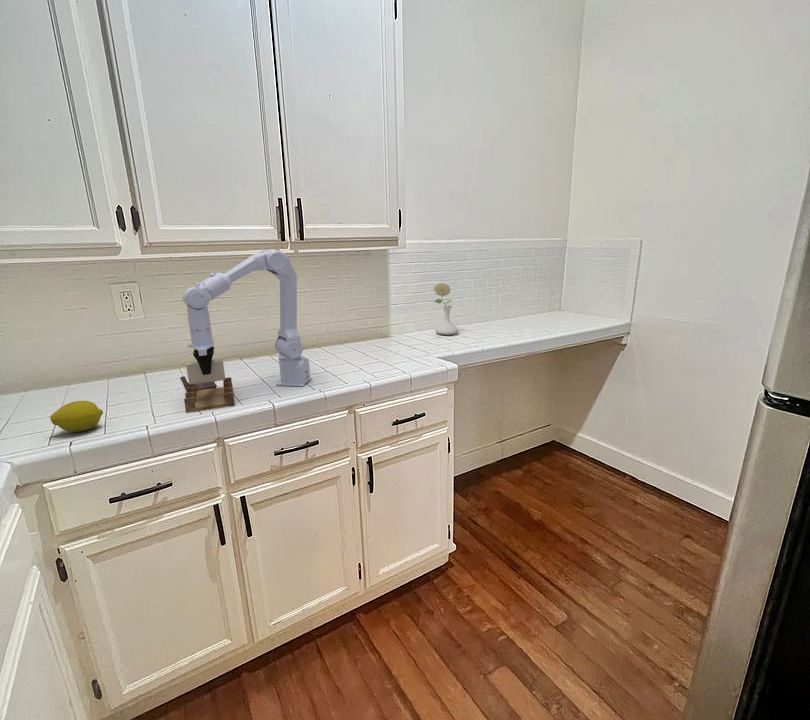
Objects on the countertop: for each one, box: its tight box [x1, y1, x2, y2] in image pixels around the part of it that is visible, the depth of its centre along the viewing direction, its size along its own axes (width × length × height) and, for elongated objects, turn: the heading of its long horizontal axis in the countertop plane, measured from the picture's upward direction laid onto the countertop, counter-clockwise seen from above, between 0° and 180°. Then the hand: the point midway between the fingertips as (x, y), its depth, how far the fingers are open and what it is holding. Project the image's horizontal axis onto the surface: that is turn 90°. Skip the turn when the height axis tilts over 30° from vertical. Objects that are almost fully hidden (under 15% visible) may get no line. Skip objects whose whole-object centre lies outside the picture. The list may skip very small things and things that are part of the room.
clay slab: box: [185, 358, 226, 384], centre depth 131 cm, size 10×2×6 cm, turn 113°
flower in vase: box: [433, 282, 459, 336], centre depth 213 cm, size 13×11×25 cm
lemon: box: [49, 400, 104, 433], centre depth 113 cm, size 11×8×8 cm
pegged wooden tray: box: [183, 376, 236, 414], centre depth 133 cm, size 13×16×4 cm
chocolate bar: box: [180, 375, 218, 390], centre depth 150 cm, size 9×1×18 cm
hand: (207, 372), depth 132 cm, fingers closed on clay slab, 2 cm apart
